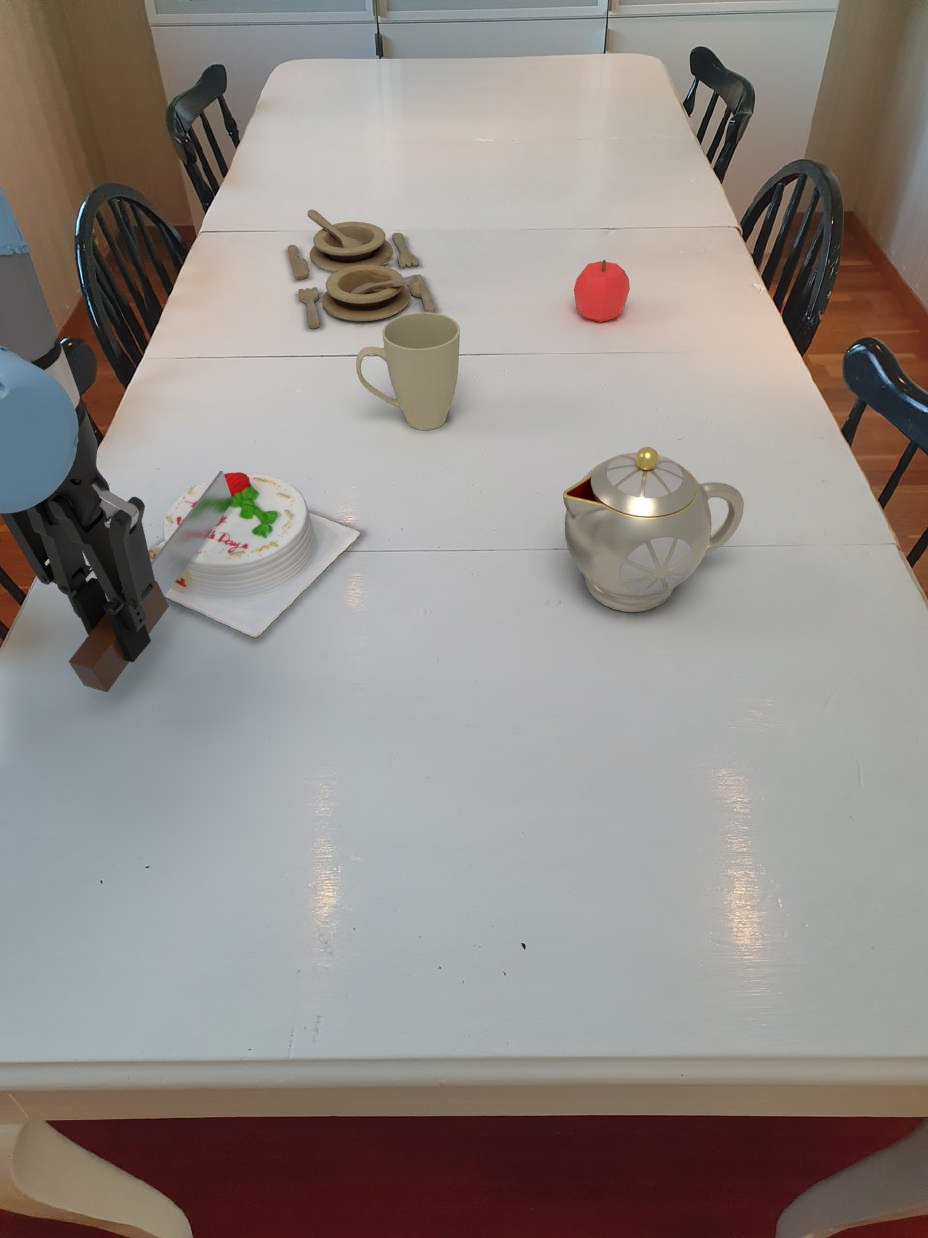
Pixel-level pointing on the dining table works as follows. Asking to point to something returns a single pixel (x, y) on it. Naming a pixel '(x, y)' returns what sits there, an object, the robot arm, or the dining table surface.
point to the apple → (601, 291)
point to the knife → (101, 649)
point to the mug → (419, 366)
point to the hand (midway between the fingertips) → (123, 646)
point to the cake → (254, 552)
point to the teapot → (643, 527)
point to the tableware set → (357, 272)
